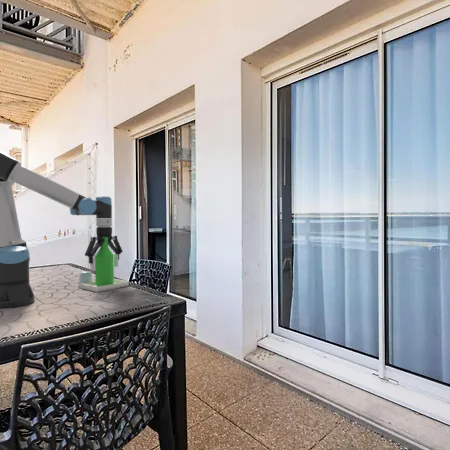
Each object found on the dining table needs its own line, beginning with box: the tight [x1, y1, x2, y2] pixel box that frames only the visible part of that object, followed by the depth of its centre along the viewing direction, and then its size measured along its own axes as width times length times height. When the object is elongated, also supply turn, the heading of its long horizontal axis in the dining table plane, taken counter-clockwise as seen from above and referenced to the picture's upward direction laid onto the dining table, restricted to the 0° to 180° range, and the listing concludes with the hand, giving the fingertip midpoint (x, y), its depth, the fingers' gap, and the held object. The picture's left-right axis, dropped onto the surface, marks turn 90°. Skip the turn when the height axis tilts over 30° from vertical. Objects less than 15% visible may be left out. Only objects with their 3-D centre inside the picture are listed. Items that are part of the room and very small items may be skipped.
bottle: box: [94, 237, 115, 287], centre depth 166 cm, size 9×9×25 cm
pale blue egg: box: [78, 270, 93, 287], centre depth 171 cm, size 6×6×7 cm
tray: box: [79, 278, 130, 293], centre depth 166 cm, size 18×15×2 cm
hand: (104, 268), depth 166 cm, fingers open, 13 cm apart
